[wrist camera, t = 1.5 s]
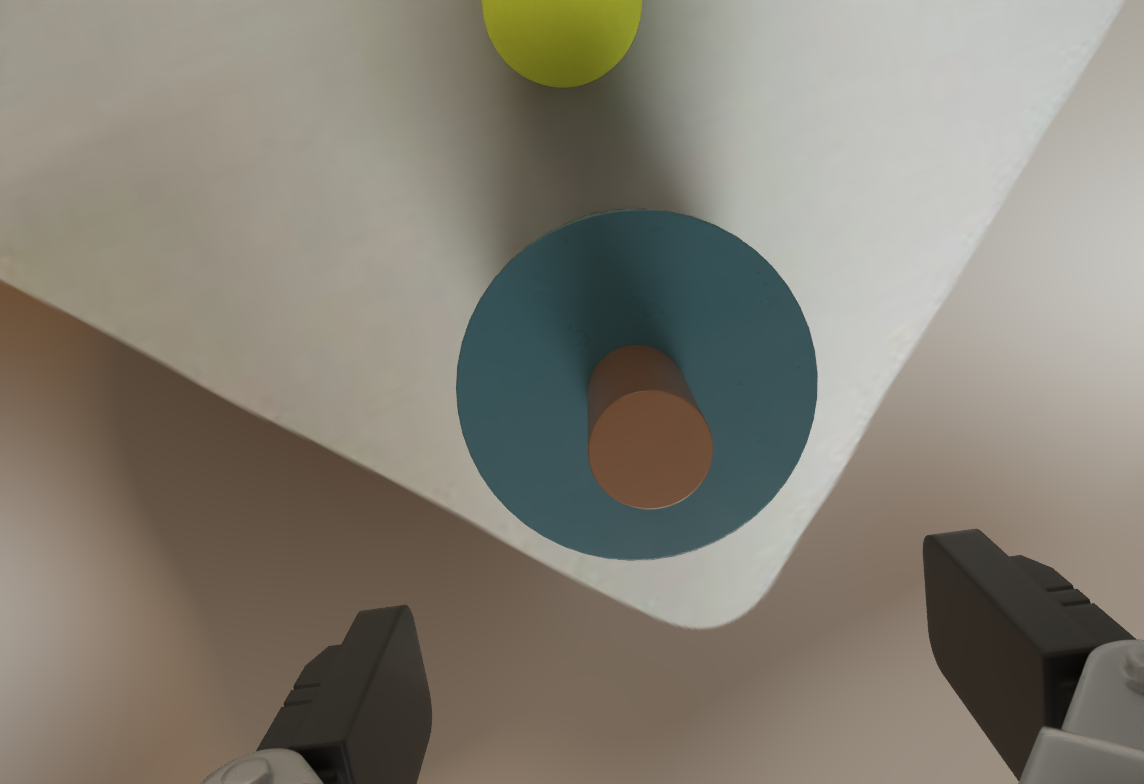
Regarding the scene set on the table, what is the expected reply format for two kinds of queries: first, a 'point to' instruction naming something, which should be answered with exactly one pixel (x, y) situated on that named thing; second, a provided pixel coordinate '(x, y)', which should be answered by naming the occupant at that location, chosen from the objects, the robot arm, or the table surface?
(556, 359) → the tube lid
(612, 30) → the tennis ball
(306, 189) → the table surface
